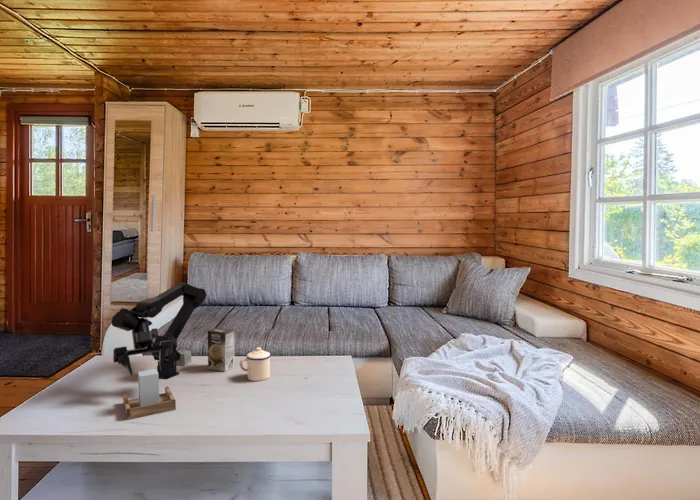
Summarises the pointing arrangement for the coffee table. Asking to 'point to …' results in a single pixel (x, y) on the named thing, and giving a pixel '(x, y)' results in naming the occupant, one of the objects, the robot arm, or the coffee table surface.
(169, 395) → the tray
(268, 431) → the coffee table surface
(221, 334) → the coffee box
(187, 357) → the dice cube
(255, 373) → the teacup with lid
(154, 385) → the tall block
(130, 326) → the robot arm
